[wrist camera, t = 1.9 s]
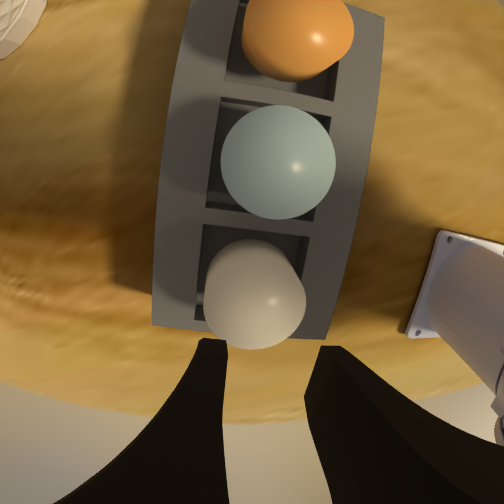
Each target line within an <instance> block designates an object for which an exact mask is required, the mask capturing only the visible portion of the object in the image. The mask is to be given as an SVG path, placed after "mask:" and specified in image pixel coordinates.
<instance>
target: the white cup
mask: <svg viewBox="0 0 504 504" xmlns="http://www.w3.org/2000/svg"><path fill="white" fill-rule="evenodd" d="M46 3H47V0H0V60H1V59H5V58H6V57H7V56H8V55H10V54H11V53H12V52H13V51H15V50H16V49H17V48H18V47H20V46H21V45H22V44H23V43H24V41H25V40H26V39H27V37H28V36H29V35H30V33H31V32H32V31H33V30H34V28H35V27H36V26H37V24H38V22H39V20H40V17H41V15H42V13H43V11H44V9H45V7H46Z"/></svg>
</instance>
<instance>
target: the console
mask: <svg viewBox="0 0 504 504" xmlns="http://www.w3.org/2000/svg"><path fill="white" fill-rule="evenodd" d="M248 2H249V0H191V2H190V6H189V10H188V14H187V18H186V22H185V26H184V30H183V35H182V39H181V44H180V48H179V53H178V58H177V63H176V68H175V73H174V78H173V84H172V90H171V95H170V101H169V107H168V114H167V120H166V127H165V134H164V142H163V149H162V158H161V166H160V175H159V185H158V196H157V207H156V220H155V235H154V254H153V280H152V325H155V326H163V327H170V328H178V329H187V330H196V331H205V332H212V331H211V329H210V328H209V326H208V324H207V322H206V320H205V316H204V310H203V302H204V293H205V284H206V276H207V271H208V268H209V265H210V263H211V261H212V259H213V258H214V256H215V255H216V254H217V253H218V252H219V251H220V250H221V249H222V248H224V247H225V246H227V245H229V244H231V243H233V242H236V241H239V240H243V239H258V240H263V241H266V242H269V243H271V244H273V245H275V246H276V247H278V248H279V249H280V250H281V251H282V252H283V253H284V254H285V255H286V257H287V259H288V260H289V262H290V264H291V265H292V267H293V269H294V271H295V273H296V274H297V276H298V278H299V280H300V282H301V283H302V286H303V288H304V291H305V295H306V309H305V313H304V316H303V319H302V321H301V323H300V324H299V326H298V327H297V329H296V330H295V331H294V332H293V333H292V334H291V335H290V336H289V337H288V338H297V339H322V340H325V339H326V336H327V333H328V329H329V326H330V323H331V319H332V316H333V312H334V309H335V305H336V302H337V298H338V295H339V291H340V288H341V284H342V280H343V276H344V272H345V269H346V265H347V261H348V257H349V253H350V248H351V244H352V240H353V236H354V231H355V227H356V222H357V218H358V213H359V209H360V204H361V199H362V194H363V189H364V184H365V178H366V173H367V167H368V162H369V156H370V150H371V144H372V137H373V131H374V124H375V117H376V109H377V101H378V93H379V84H380V74H381V64H382V52H383V38H384V21H385V18H384V17H382V16H379V15H377V14H374V13H371V12H369V11H366V10H363V9H360V8H358V7H355V6H352V5H349V4H346V3H344V4H345V6H346V7H347V9H348V10H349V12H350V15H351V17H352V20H353V25H354V37H353V41H352V44H351V46H350V48H349V50H348V51H347V53H346V54H345V55H344V56H343V57H342V58H341V59H339V60H338V61H336V62H335V63H333V64H332V65H331V66H329V67H328V68H326V69H325V70H324V71H322V72H321V73H319V74H318V75H317V76H315V77H313V78H311V79H308V80H306V81H301V82H282V81H278V80H274V79H272V78H269V77H267V76H265V75H264V74H262V73H260V72H259V71H258V70H257V69H255V68H254V67H253V66H252V65H251V63H250V62H249V61H248V59H247V58H246V56H245V54H244V51H243V48H242V43H241V36H242V29H243V24H244V18H245V13H246V8H247V5H248ZM272 105H284V106H290V107H294V108H297V109H300V110H302V111H304V112H306V113H308V114H309V115H311V116H312V117H314V118H315V119H316V120H317V121H318V122H319V123H320V124H321V125H322V126H323V127H324V129H325V130H326V132H327V133H328V135H329V137H330V139H331V141H332V144H333V147H334V151H335V158H336V167H335V174H334V178H333V181H332V184H331V186H330V188H329V190H328V192H327V194H326V195H325V196H324V198H323V199H322V200H321V201H320V202H319V203H318V204H317V205H316V206H315V207H314V208H312V209H311V210H309V211H308V212H306V213H304V214H302V215H300V216H297V217H294V218H289V219H281V220H276V219H267V218H263V217H260V216H257V215H255V214H253V213H251V212H249V211H247V210H246V209H244V208H243V207H242V206H241V205H240V204H238V203H237V202H236V200H235V199H234V198H233V197H232V196H231V194H230V193H229V191H228V189H227V187H226V185H225V183H224V180H223V177H222V172H221V152H222V148H223V144H224V142H225V139H226V137H227V135H228V133H229V132H230V130H231V129H232V127H233V126H234V125H235V124H236V123H237V122H238V121H239V120H240V119H241V118H242V117H244V116H245V115H246V114H248V113H250V112H251V111H254V110H256V109H258V108H262V107H265V106H272Z"/></svg>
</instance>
